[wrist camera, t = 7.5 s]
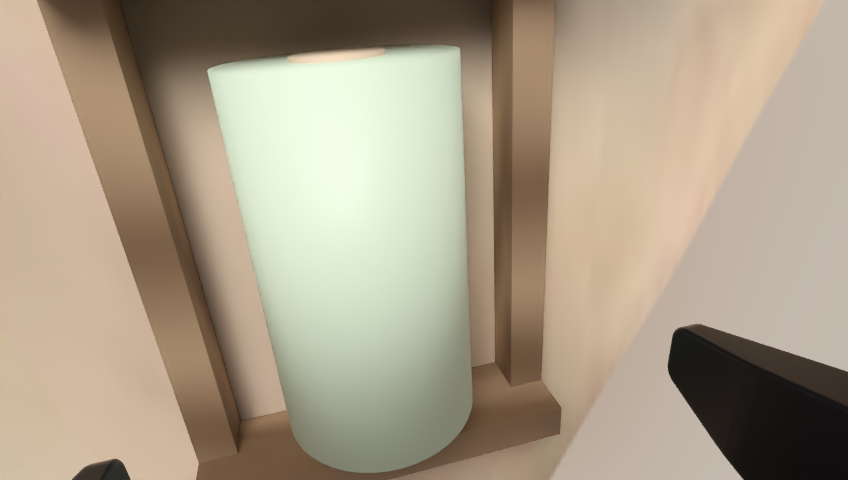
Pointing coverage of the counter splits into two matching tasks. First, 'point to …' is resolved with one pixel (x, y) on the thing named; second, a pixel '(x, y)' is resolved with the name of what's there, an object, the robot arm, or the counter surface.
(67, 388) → the counter surface
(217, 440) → the holder
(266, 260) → the roll
